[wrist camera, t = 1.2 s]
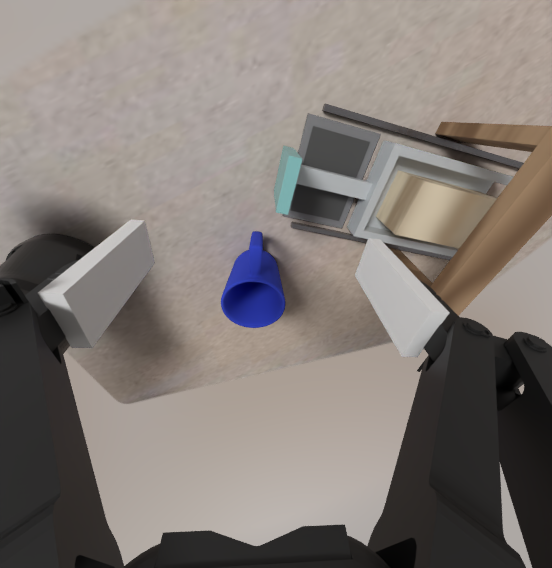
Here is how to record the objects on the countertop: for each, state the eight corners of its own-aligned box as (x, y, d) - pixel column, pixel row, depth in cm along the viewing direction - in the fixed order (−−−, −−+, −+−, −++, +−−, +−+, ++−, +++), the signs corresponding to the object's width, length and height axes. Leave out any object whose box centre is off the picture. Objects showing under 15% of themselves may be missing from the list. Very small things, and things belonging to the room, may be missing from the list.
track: (290, 227, 34) (290, 231, 33) (325, 99, 26) (327, 98, 25) (463, 263, 39) (468, 267, 38) (542, 165, 30) (551, 166, 29)
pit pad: (282, 215, 33) (282, 216, 33) (307, 113, 26) (308, 113, 26) (341, 228, 34) (342, 228, 34) (380, 134, 28) (381, 134, 27)
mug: (286, 219, 33) (293, 252, 25) (278, 286, 41) (281, 329, 32) (229, 215, 33) (217, 247, 25) (231, 284, 40) (222, 327, 32)
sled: (268, 210, 32) (269, 239, 24) (289, 113, 26) (298, 112, 18) (442, 247, 36) (488, 282, 29) (495, 172, 30) (573, 191, 22)
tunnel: (373, 251, 37) (422, 315, 25) (441, 121, 27) (574, 127, 15) (395, 256, 38) (453, 320, 26) (470, 130, 28) (619, 142, 16)
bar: (375, 216, 32) (395, 234, 27) (398, 170, 29) (424, 181, 24) (450, 233, 34) (480, 253, 29) (479, 191, 31) (519, 206, 26)
